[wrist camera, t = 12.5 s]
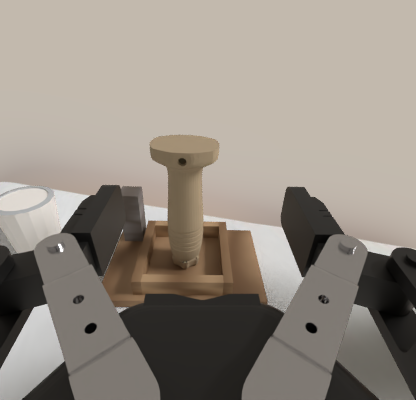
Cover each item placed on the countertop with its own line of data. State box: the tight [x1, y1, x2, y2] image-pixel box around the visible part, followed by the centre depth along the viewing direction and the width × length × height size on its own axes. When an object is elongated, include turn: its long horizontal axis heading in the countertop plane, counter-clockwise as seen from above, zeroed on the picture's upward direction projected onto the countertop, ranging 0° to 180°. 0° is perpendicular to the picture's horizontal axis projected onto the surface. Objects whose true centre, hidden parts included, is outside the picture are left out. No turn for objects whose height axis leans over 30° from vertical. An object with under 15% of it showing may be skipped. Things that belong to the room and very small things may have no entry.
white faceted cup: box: [0, 186, 61, 253], centre depth 34 cm, size 7×7×7 cm
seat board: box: [102, 186, 268, 307], centre depth 31 cm, size 18×12×8 cm, turn 91°
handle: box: [150, 135, 219, 269], centre depth 28 cm, size 5×6×15 cm
